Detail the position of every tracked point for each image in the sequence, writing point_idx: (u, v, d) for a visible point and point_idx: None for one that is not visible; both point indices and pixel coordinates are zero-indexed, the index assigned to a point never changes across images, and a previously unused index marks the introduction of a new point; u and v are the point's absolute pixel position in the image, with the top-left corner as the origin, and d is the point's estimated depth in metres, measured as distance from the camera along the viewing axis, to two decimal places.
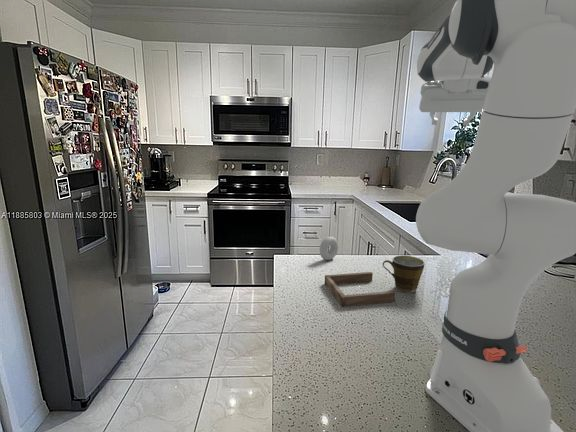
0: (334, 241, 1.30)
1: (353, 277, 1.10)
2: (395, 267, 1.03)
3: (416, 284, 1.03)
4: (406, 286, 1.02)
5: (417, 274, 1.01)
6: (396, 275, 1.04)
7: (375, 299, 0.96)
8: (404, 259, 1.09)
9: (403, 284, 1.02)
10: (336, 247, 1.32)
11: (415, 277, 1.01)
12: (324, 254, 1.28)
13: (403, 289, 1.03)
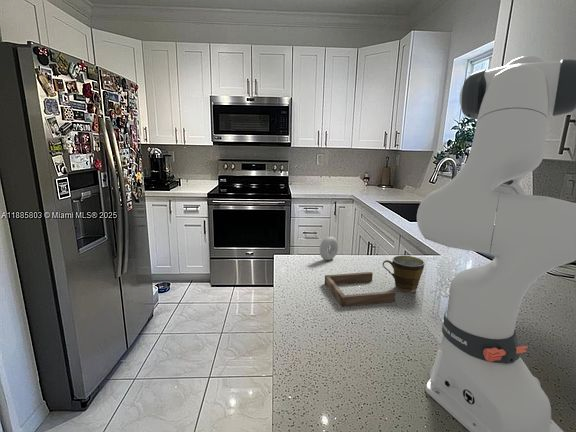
0: (334, 241, 1.30)
1: (353, 277, 1.10)
2: (395, 267, 1.03)
3: (416, 284, 1.03)
4: (406, 286, 1.02)
5: (417, 274, 1.01)
6: (396, 275, 1.04)
7: (375, 299, 0.96)
8: (404, 259, 1.09)
9: (403, 284, 1.02)
10: (336, 247, 1.32)
11: (415, 277, 1.01)
12: (324, 254, 1.28)
13: (403, 289, 1.03)
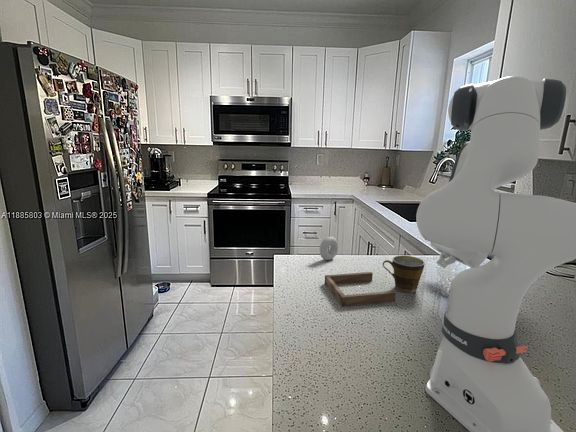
0: (334, 241, 1.30)
1: (353, 277, 1.10)
2: (395, 267, 1.03)
3: (416, 284, 1.03)
4: (406, 286, 1.02)
5: (417, 274, 1.01)
6: (396, 275, 1.04)
7: (375, 299, 0.96)
8: (404, 259, 1.09)
9: (403, 284, 1.02)
10: (336, 247, 1.32)
11: (415, 277, 1.01)
12: (324, 254, 1.28)
13: (403, 289, 1.03)
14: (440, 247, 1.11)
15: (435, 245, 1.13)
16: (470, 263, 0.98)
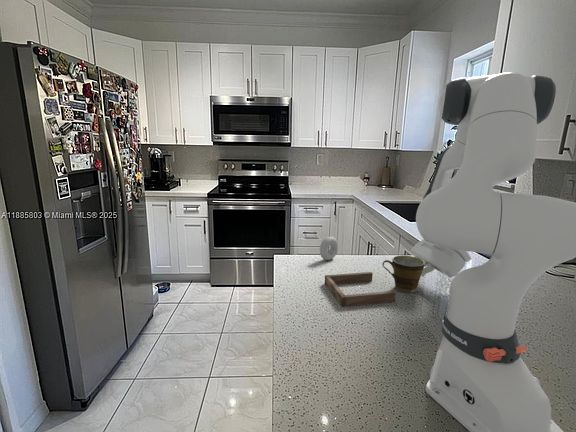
0: (334, 241, 1.30)
1: (353, 277, 1.10)
2: (395, 267, 1.03)
3: (416, 284, 1.03)
4: (406, 286, 1.02)
5: (417, 274, 1.01)
6: (396, 275, 1.04)
7: (375, 299, 0.96)
8: (403, 259, 1.09)
9: (403, 284, 1.02)
10: (336, 247, 1.32)
11: (415, 277, 1.01)
12: (324, 254, 1.28)
13: (403, 289, 1.03)
14: (419, 255, 1.10)
15: (415, 253, 1.12)
16: (447, 272, 0.97)
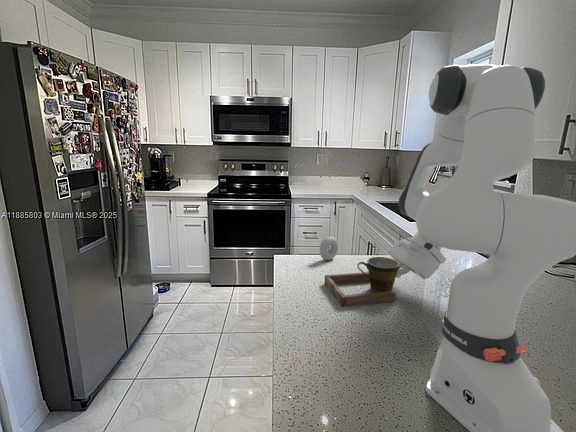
0: (334, 241, 1.30)
1: (353, 277, 1.10)
2: (369, 269, 1.01)
3: (391, 286, 1.01)
4: (381, 288, 1.01)
5: (391, 276, 0.99)
6: (371, 277, 1.02)
7: (375, 299, 0.96)
8: (379, 261, 1.07)
9: (377, 286, 1.01)
10: (336, 247, 1.32)
11: (389, 279, 0.99)
12: (324, 254, 1.28)
13: (377, 291, 1.01)
14: (396, 256, 1.08)
15: (392, 254, 1.11)
16: (421, 274, 0.95)
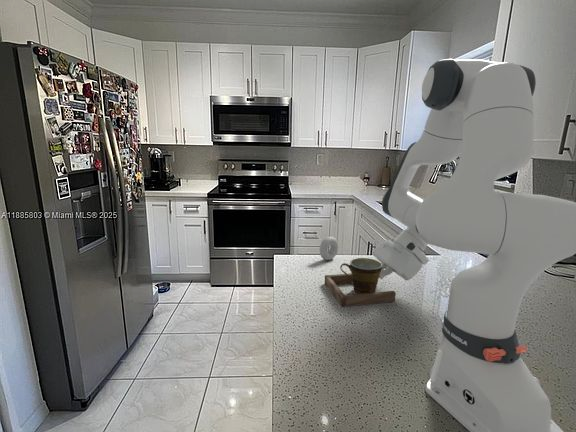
0: (334, 241, 1.30)
1: None
2: (352, 271, 1.00)
3: (374, 287, 1.00)
4: (364, 290, 1.00)
5: (374, 277, 0.98)
6: (353, 278, 1.01)
7: (375, 299, 0.96)
8: (362, 262, 1.06)
9: (360, 288, 0.99)
10: (336, 247, 1.32)
11: (372, 280, 0.98)
12: (324, 254, 1.28)
13: (361, 293, 1.00)
14: (379, 257, 1.07)
15: (376, 255, 1.09)
16: (403, 275, 0.94)
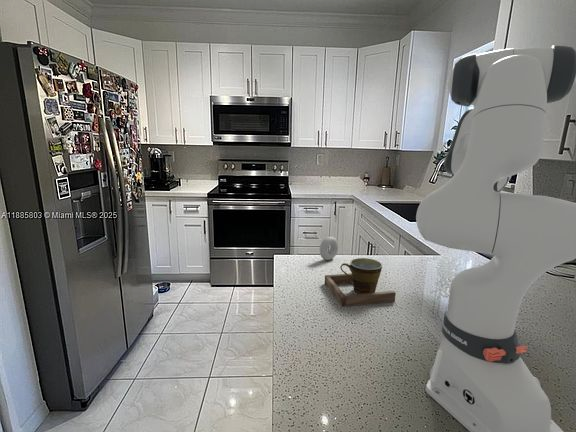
0: (334, 241, 1.30)
1: None
2: (352, 271, 1.00)
3: (374, 287, 1.00)
4: (364, 290, 1.00)
5: (374, 277, 0.98)
6: (354, 279, 1.01)
7: (375, 299, 0.96)
8: (363, 262, 1.06)
9: (360, 288, 0.99)
10: (336, 247, 1.32)
11: (372, 280, 0.98)
12: (324, 254, 1.28)
13: (361, 293, 1.00)
14: None
15: None
16: None
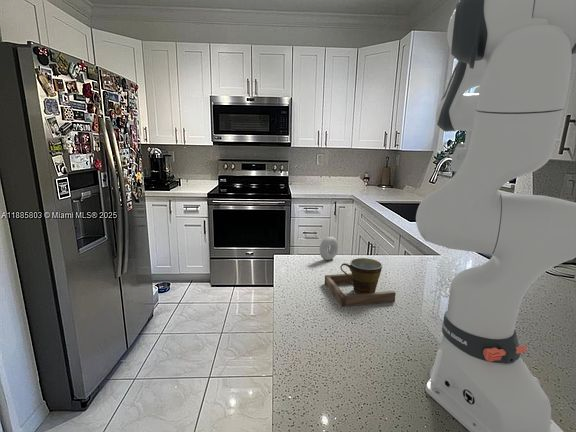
0: (334, 241, 1.30)
1: None
2: (352, 271, 1.00)
3: (374, 287, 1.00)
4: (364, 290, 1.00)
5: (374, 277, 0.98)
6: (354, 279, 1.01)
7: (375, 299, 0.96)
8: (363, 262, 1.06)
9: (360, 288, 0.99)
10: (336, 247, 1.32)
11: (372, 280, 0.98)
12: (324, 254, 1.28)
13: (361, 293, 1.00)
14: None
15: (457, 170, 1.03)
16: None
